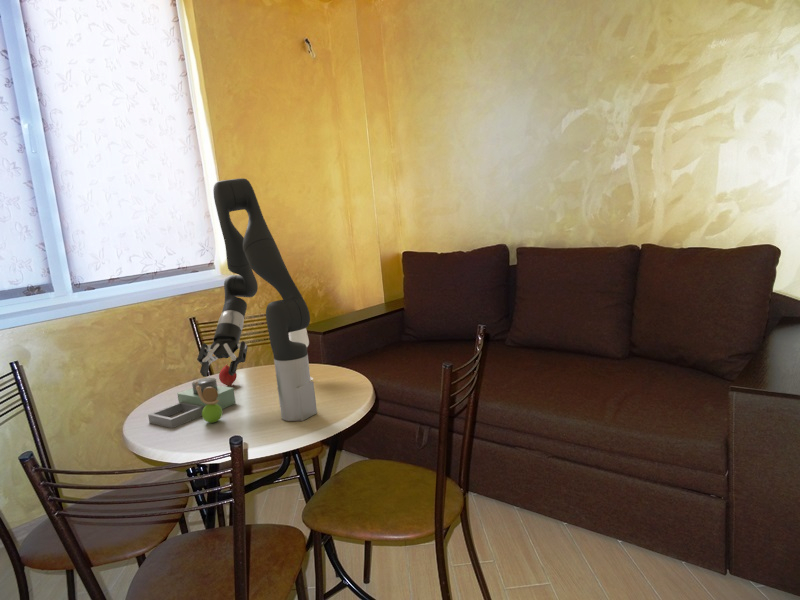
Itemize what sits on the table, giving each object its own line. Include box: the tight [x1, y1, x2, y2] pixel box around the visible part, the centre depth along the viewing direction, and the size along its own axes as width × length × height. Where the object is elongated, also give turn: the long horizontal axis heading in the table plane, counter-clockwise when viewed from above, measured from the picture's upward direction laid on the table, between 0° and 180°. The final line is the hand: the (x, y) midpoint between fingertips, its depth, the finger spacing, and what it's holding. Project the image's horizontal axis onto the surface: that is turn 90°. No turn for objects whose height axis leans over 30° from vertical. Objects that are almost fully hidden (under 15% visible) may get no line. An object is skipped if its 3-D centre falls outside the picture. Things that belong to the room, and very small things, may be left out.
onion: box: [218, 363, 237, 387], centre depth 179 cm, size 6×6×8 cm
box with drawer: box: [147, 377, 236, 429], centre depth 155 cm, size 14×21×8 cm, turn 148°
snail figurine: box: [195, 382, 223, 424], centre depth 145 cm, size 5×6×12 cm
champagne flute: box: [288, 327, 314, 381], centre depth 177 cm, size 7×7×24 cm
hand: (217, 374), depth 151 cm, fingers open, 8 cm apart
